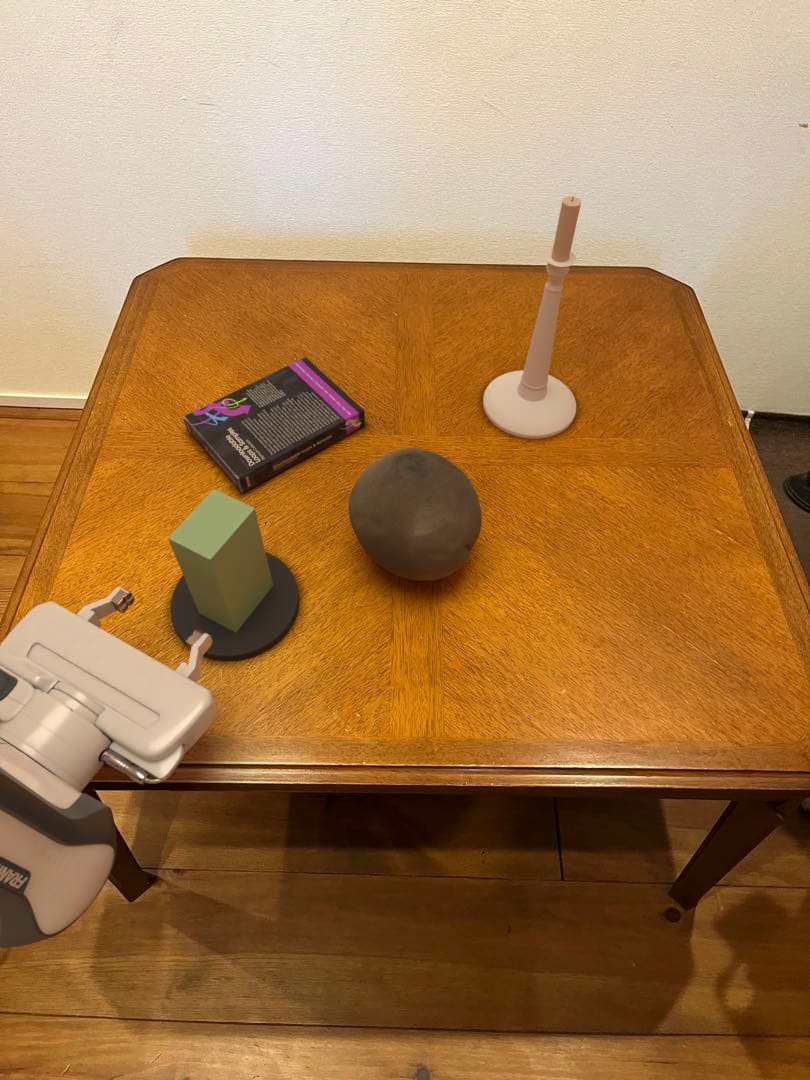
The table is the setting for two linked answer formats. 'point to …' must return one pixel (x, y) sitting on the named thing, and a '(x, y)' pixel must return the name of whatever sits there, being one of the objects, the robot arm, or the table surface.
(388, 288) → the table surface
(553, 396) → the candlestick
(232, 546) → the green box
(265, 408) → the box
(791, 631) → the table surface
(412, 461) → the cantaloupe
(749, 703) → the table surface
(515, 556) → the table surface
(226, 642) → the mat
